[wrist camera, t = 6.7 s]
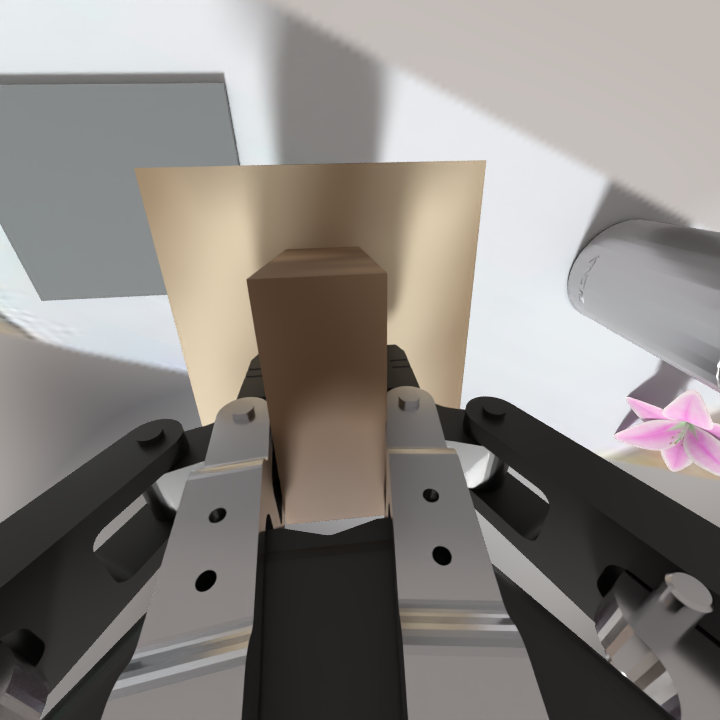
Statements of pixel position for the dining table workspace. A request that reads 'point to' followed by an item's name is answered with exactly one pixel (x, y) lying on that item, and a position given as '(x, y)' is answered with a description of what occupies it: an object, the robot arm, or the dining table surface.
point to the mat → (99, 177)
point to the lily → (677, 432)
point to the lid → (319, 302)
